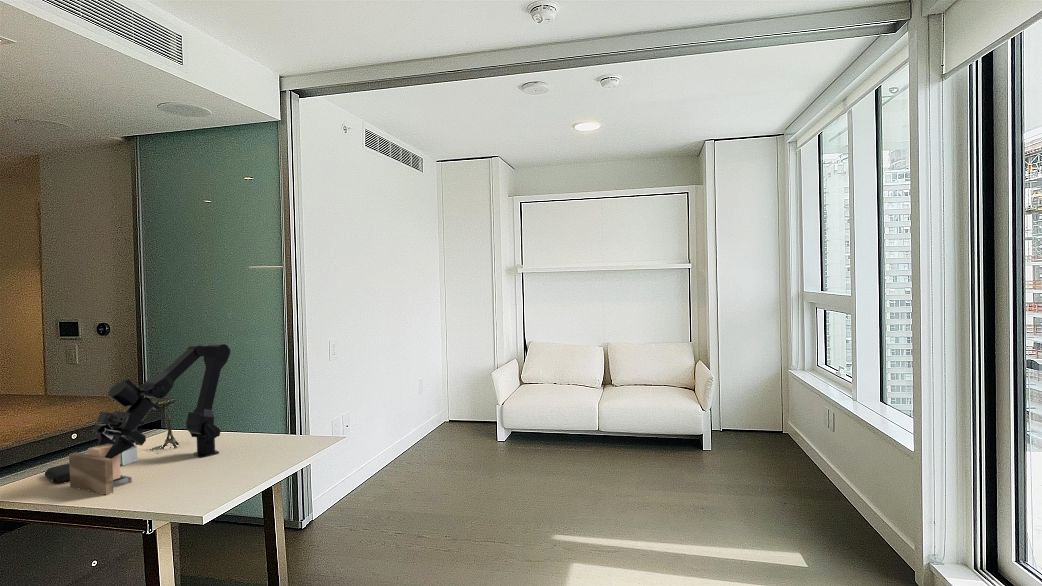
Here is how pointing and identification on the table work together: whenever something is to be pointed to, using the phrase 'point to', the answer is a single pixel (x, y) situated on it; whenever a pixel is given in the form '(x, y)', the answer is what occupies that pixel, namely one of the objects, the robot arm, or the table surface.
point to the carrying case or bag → (58, 474)
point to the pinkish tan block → (102, 452)
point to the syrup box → (128, 455)
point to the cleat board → (94, 473)
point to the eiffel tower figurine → (171, 440)
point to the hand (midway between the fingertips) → (99, 459)
